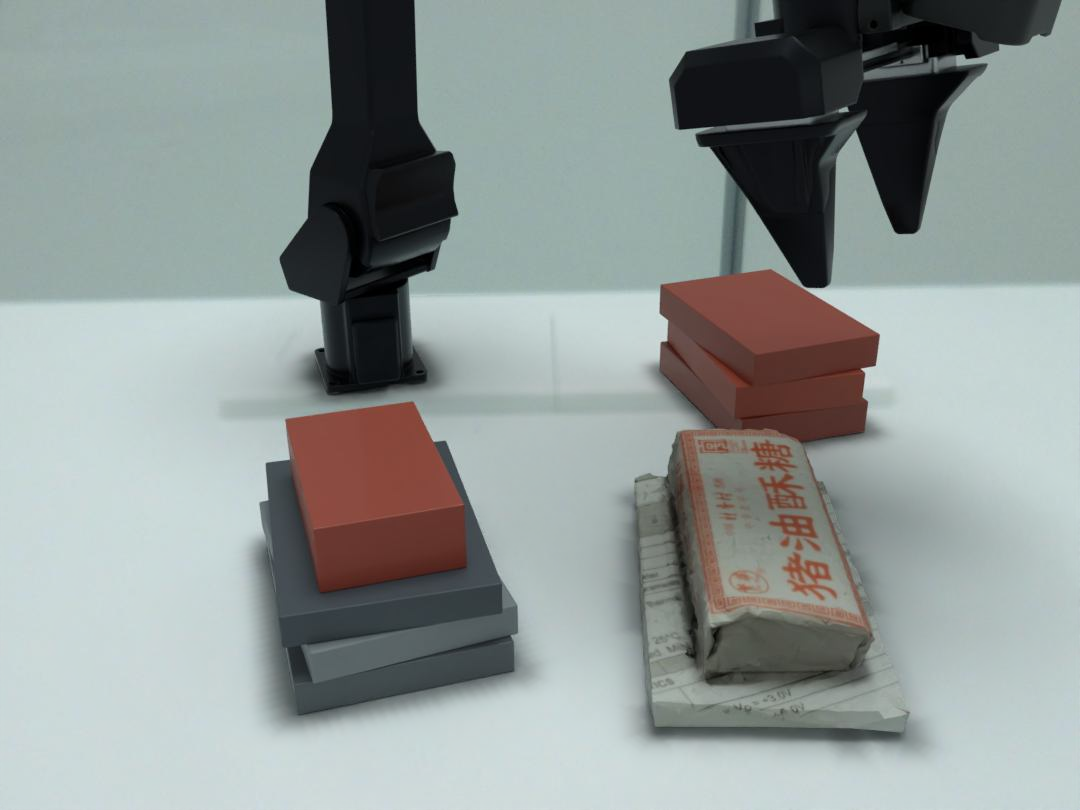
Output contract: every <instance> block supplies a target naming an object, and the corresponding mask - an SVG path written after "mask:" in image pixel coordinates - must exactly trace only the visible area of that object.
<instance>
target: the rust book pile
mask: <svg viewBox="0 0 1080 810" xmlns="http://www.w3.org/2000/svg"><path fill="white" fill-rule="evenodd" d="M659 287H660V288H659V309H658V310H659V312H658V313H659V315H660V316H661V317H663V318H664V319H666V320H667V335H666V337H667V339H666V340H664V341H661V342H659V343H660V344H659V345H660V346H659V347H660V348H659V371H660V372H661V373H662V374H663V375H664V376H665V377H666V378H667V379H668V380H669V381H670V382H671V383H672V384H673V385H674V386H675V387H676V388H677V389H678V390H679V391H680V392H681V393H682V394H683V395H684V396H685V398H687V399H688V401H690V402H691V403H692V404H693V405H694V406H695V407H696V408H697V409H698V410H699V411H700V412H701V413H702V414H703V415H704V416H705V417H706V418H707V419H708V421H710V422H711V423H712V425H714V426H715V427H716V429H726V430H730V429H735V430H745V429H753V430H763V429H765V428H766V429H771V430H777V431H778V432H779V433H781V434H786V435H788V436H790V437H793V438H796V439H797V440H798V441H799V442H800V443H803V442H808V441H815V440H821V439H827V438H834V437H839V436H845V435H851V434H857V433H864V432H865V431H866V422H867V416H868V415H867V414H868V408H869V401H868V400H867V399H866V398H864V397H863V396H864V388H865V381H866V372H865V371H864V370H863V369H867V368H873V367H876V366H877V361H878V353H879V345H880V338H881V334H880V333H879V332H877V331H876V330H874V329H872V328H870V327H869V326H867V325H865V324H864V323H862V322H860V321H859V320H857V319H855V318H854V317H852V316H851V315H848V314H847V313H845V312H844V311H842V310H840V309H838V308H837V307H835V306H833V305H832V304H830V303H828V302H827V301H825V300H824V299H822V298H820V297H819V296H817V295H815V294H813V293H812V292H810V291H809V290H807V289H805V288H804V287H801V286H800V285H799V284H796V282H794V281H792V280H790V279H788V278H787V277H786V276H783V275H782V274H780V273H778V272H777V271H775V270H773V269H772V268H767V269H762V270H755V271H747V272H746V271H745V272H740V273H732V274H725V275H719V276H711V277H704V278H697V279H690V280H682V281H675V282H668V283H661V284H660V286H659Z"/></svg>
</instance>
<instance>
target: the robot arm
mask: <svg viewBox="0 0 1080 810" xmlns="http://www.w3.org/2000/svg"><path fill="white" fill-rule="evenodd" d="M1062 1H1063V0H771V3H772V12H773V13H772V14H773V18H770V19H767V20H762V21H758V22H757V21H756V22H754V23H753V26H754V34H755V37H748V38H747V37H746V38H741V39H734V40H729V41H725V42H721V43H716V44H712V45H708V46H703V47H700V48H695V49H691V50H687V51H685V53H684V54H683V56H682V57H681V59H680V60H679V62H678V64H677V66H675V68H674V70H673V72H672V74H671V75H670V76H669V78H668V84H669V93H670V102H671V108H672V116H673V123H674V129H675V130H678V131H684V130H695V129H704V130H702V131H698V132H696V133H695V134H694V136H695V141H696V143H697V146H698V147H699V148H709V149H710V151H711V152H712V153H713V154H714V156H715V157H716V158H717V160H718V162H719V163H720V164H721V165H722V167H723V168H724V169H725V171H726V172H727V173H728V174H729V176H730V177H731V179H732V180H733V181H734V183H735V184H736V185H737V187H738V188H739V189H740V191H741V193H742V194H743V195H744V197H745V199H746V200H747V201H748V202H749V204H750V206H751V207H752V208H753V210H754V212H755V213H756V215H757V216H758V217H759V219H760V221H761V222H762V223H763V225H764V227H765V228H766V231H768V233H769V235H770V236H771V238H772V239H773V241H774V243H775V244H776V245H777V248H778V249H779V251H780V252H781V254H782V255H783V257H784V258H785V260H786V262H787V264H788V265H789V266H790V268H791V270H792V272H793V273H794V274H795V276H796V277H797V279H798V281H799V282H800V285H802V286H803V288H806V289H825V288H827V287H828V286H830V285H831V283H832V276H833V264H834V253H835V252H834V251H835V225H836V223H835V222H836V185H837V183H836V182H837V160H838V159H837V158H838V156H839V154H840V151H841V150H842V149H843V148H844V146H845V145H846V143H847V142H848V141H849V139H850V138H851V137H852V136H853V134H854V133H855V132H856V135H857V138H858V141H859V143H860V146H861V149H862V152H863V154H864V157H865V160H866V163H867V166H868V168H869V170H870V174H871V177H872V180H873V182H874V185H875V188H876V190H877V193H878V196H879V199H880V202H881V204H882V207H883V209H884V211H885V214H886V216H887V218H888V220H889V223H890V226H891V228H892V230H893V232H894V233H895V234H896V235H914V234H917V233H918V232H919V231H921V229H922V225H923V224H922V223H923V219H924V214H925V210H926V205H927V201H928V197H929V192H930V188H931V183H932V178H933V173H934V169H935V164H936V160H937V155H938V151H939V146H940V142H941V139H942V134H943V130H944V128H945V123H946V119H947V115H948V112H949V110H950V108H951V106H952V105H953V103H954V102H956V100H958V98H959V97H961V96H962V94H963V93H964V92H965V91H966V90H967V89H968V88H969V87H970V85H971V84H973V82H974V81H976V79H977V78H979V77H981V76H982V75H983V74H984V73H985V72H986V70H987V68H988V64H989V63H988V62H980V63H971V64H961V65H957V56H964V58H965V60H974V59H979V58H982V57H985V56H988V55H991V54H994V53H996V52H999V51H1000V45H1003V46H1013V47H1020V46H1021V47H1022V46H1025V45H1028V44H1029V43H1030V42H1031V40H1032V39H1033V38H1034V37H1037V36H1040V37H1044V38H1047V37H1049V36H1051V35H1052V32H1053V29H1054V26H1055V23H1056V20H1057V17H1058V14H1059V11H1060V7H1061V4H1062ZM415 2H416V1H415V0H324V5H325V20H326V37H327V52H328V67H329V84H330V99H331V123H330V126H329V128H328V130H327V132H326V135H325V137H324V139H323V141H322V143H321V145H320V148H319V150H318V152H317V154H316V156H315V158H314V161H313V162H312V165H311V167H310V170H309V175H308V176H309V178H308V179H309V180H308V199H307V200H308V201H307V218H306V220H305V221H304V222H303V224H302V225H301V226H300V228H299V229H298V230H297V232H296V233H295V234H294V236H293V238H292V239H291V240H290V241H289V243H288V244H287V246H286V247H285V248H284V250H283V251H282V253H281V254H280V256H279V265H280V267H281V270H282V273H283V276H284V279H285V283H286V285H287V288H288V290H289V291H291V292H293V293H297V294H300V295H302V296H305V297H309V298H311V299H315V300H318V301H319V308H320V319H321V327H322V337H323V339H322V340H323V347H318V348H316V349H314V358H315V360H316V361H315V362H316V364H317V366H318V367H317V368H318V369H319V372H320V375H321V379H322V382H323V384H324V387H325V391H326V392H328V393H340V392H349V391H355V390H363V389H371V388H377V387H378V388H380V387H387V386H393V385H401V384H408V383H416V382H423V381H425V380H427V379H428V378H429V377H428V376H429V375H428V369H427V368H426V366H425V364H424V361H422V359H421V357H420V355H419V353H418V351H417V349H416V348H415V346H414V344H413V331H412V313H411V298H410V296H411V295H410V283H409V282H410V281H409V280H410V279H409V278H412V277H415V276H418V275H420V274H423V273H429V272H432V271H434V270H436V266H437V263H438V258H439V255H440V251H441V246H442V243H443V242H445V241H446V240H447V239H448V237H449V234H450V230H451V222H452V219H453V218H456V217H458V216H459V215H460V214H459V210H458V207H457V203H456V197H455V176H456V168H457V167H456V166H457V164H456V160H455V156H454V153H453V152H451V151H450V150H437V148H436V146H434V143H433V142H432V140H431V138H430V137H429V135H428V133H427V132H426V130H425V129H424V127H423V126H422V124H421V121H420V118H419V105H418V74H417V71H418V70H417V68H418V67H417V35H416V3H415ZM844 108H846V109H847V110H848V111H840V110H842V109H844ZM705 128H706V129H705Z"/></svg>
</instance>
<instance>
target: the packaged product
mask: <svg viewBox="0 0 1080 810" xmlns="http://www.w3.org/2000/svg"><path fill="white" fill-rule="evenodd" d="M633 483H634V485H633V495H634V501H635V505H636V519H637V521H636V524H637V525H636V526H637V529H636V530H637V550H638V551H637V553H638V562H639V563H638V564H639V594H640V612H641V626H642V640H643V652H644V654H643V655H644V656H643V657H644V668H645V681H646V690H647V695H648V700H649V705H650V709H651V715H652V719H653V724H654V727H655V728H656V727H657V728H659V727H661V728H664V727H667V728H672V727H675V728H677V727H678V728H679V727H681V728H682V727H683V728H685V727H686V728H687V727H688V728H689V727H692V728H693V727H695V728H696V727H697V728H703V727H704V728H705V727H707V728H708V727H710V728H711V727H712V728H718V727H719V728H721V727H723V728H725V727H726V728H730V727H731V728H732V727H733V728H735V727H736V728H737V727H739V728H740V727H741V728H742V727H744V728H746V727H747V728H810V729H811V728H813V729H814V728H816V729H817V728H819V729H857V730H868V731H879V732H880V731H881V732H891V733H892V732H893V733H904V730H905V728H906V725H907V723H908V719H909V717H910V715H911V711H910V709H909V706H908V705H907V703H906V700H905V698H904V695H903V692H902V689H901V685H900V680H899V677H898V675H897V672H896V670H895V668H894V665H893V663H892V661H891V658H890V657H889V655H888V653H887V649H886V646H885V644H884V641H883V639H882V635H881V632H880V630H879V629H880V628H879V627H878V624H877V621H876V617H875V615H874V612H873V610H872V607H871V603H870V601H869V599H868V597H867V594H866V592H865V589H864V586H863V581H862V579H861V577H860V574H859V571H858V570H857V569H858V568H856V567H855V566H854V564H853V563H852V561H851V551H850V549H849V547H848V544H847V541H846V538H845V536H844V532H843V531H842V529H841V526H840V525H839V522H838V518H837V515H836V512H835V509H834V507H833V503H832V502H831V498H830V496H829V493H828V489H827V488H826V485H825V484H824V481H823V480H820V481H817V479H816V475H815V472H814V468H813V466H812V464H811V461H810V458H809V457H808V452H807V450H806V448H805V446H804V445H803V444H802V442H799V441H798V440H797V439H796V438H793V437H790V436H788V435H786V434H781V433H779V432H778V431H777V430H771V429H766V428H765V429H763V430H753V429H745V430H735V429H730V430H726V429H718V428H706V429H690V428H689V429H681V430H679V431H676V433H675V437H674V441H673V443H672V444H671V453H670V455H669V458H668V464H667V475H665V476H663V475H656V474H655V475H654V474H652V473H651V472H647V473H644V474H642V475H639V476H637V477H634V482H633Z"/></svg>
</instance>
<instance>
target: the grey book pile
mask: <svg viewBox="0 0 1080 810" xmlns="http://www.w3.org/2000/svg"><path fill="white" fill-rule="evenodd" d="M433 442H434V444H435V446H436V448H437V450H438V452H439V454H440V456H441V458H442V460H443V462H444V465H445V467H446V469H447V471H448V473H449V475H450V477H451V479H452V481H453V483H454V485H455V487H456V489H457V491H458V493H459V495H460V497H461V499H462V501H463V503H464V509H465V532H466V555H467V567H464V568H459V569H453V570H447V571H442V572H436V573H431V574H425V575H419V576H414V577H408V578H403V579H397V580H392V581H386V582H380V583H375V584H369V585H364V586H358V587H353V588H347V589H341V590H336V591H330V592H325V593H320V592H319V588H318V584H317V580H316V575H315V571H314V567H313V563H312V559H311V554H310V550H309V546H308V542H307V538H306V533H305V529H304V525H303V521H302V517H301V512H300V508H299V504H298V500H297V496H296V491H295V487H294V483H293V479H292V474H291V466H290V459H284V460H277V461H276V460H275V461H269V462H268V461H267V462H265V465H264V466H265V476H266V477H265V478H266V487H267V499H268V500H262V501H259V504H258V505H259V512H260V519H261V528H262V531H263V534H264V537H265V542H266V548H267V555H268V559H269V565H270V570H271V576H272V582H273V588H274V593H275V598H276V608H277V609H276V610H277V620H278V627H279V628H278V629H279V634H280V635H279V636H280V643H281V647H282V648H283V649H285V655H286V660H287V665H288V671H289V675H290V676H289V677H290V682H291V688H292V695H293V700H294V704H295V710H296V714H297V715H299V716H300V715H305V714H309V713H313V712H318V711H323V710H327V709H332V708H338V707H343V706H347V705H352V704H357V703H361V702H366V701H371V700H376V699H381V698H385V697H390V696H391V697H392V696H397V695H401V694H405V693H406V694H407V693H411V692H415V691H420V690H425V689H430V688H434V687H435V688H436V687H439V686H445V685H449V684H454V683H460V682H464V681H468V680H474V679H478V678H483V677H488V676H492V675H497V674H503V673H507V672H512V671H515V642H514V640H513V637H512V636H515V635H517V634H518V633H519V611H518V604H517V601H516V600H515V599H514V597H513V596H512V594H511V592H510V590H509V589H508V588H507V585H506V584H505V582H504V581H503V580H502V578H501V576H500V574H499V573H498V570H497V568H496V565H495V562H494V560H493V557H492V555H491V551H490V550H489V547H488V544H487V542H486V540H485V537H484V534H483V532H482V528H481V526H480V524H479V520H478V519H477V516H476V514H475V511H474V509H473V506H472V504H471V500H470V499H469V496H468V493H467V491H466V489H465V485H464V483H463V480H462V477H461V474H460V473H459V471H458V470H459V469H458V467H457V465H456V463H455V460H454V457H453V455H452V452H451V449H450V447H449V443H448V442H447V440H438V441H433Z"/></svg>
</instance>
